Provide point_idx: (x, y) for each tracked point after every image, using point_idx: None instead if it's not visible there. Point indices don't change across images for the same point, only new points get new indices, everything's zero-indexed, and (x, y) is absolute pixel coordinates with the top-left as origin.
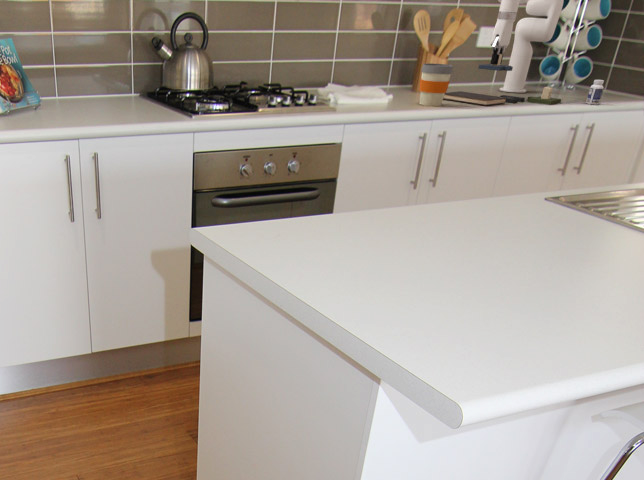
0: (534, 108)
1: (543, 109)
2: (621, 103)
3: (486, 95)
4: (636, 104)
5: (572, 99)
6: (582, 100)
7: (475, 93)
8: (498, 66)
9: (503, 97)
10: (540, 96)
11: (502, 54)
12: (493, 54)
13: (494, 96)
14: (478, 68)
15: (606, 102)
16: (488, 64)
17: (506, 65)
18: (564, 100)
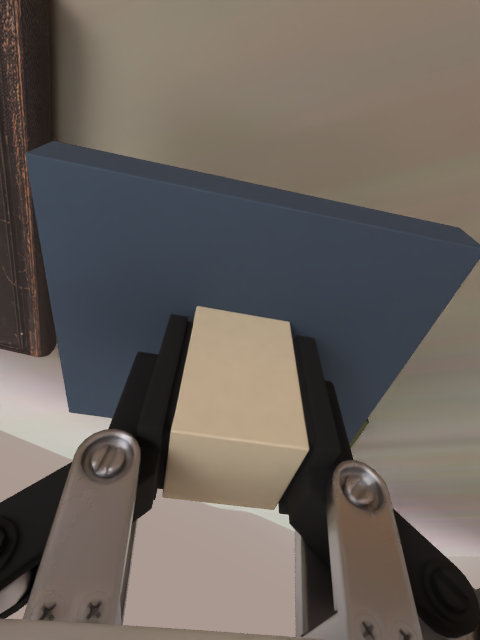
0: (60, 428)
1: (69, 447)
2: (446, 542)
3: (4, 260)
4: (445, 556)
5: (476, 474)
6: (462, 492)
7: (18, 166)
8: (115, 393)
9: (34, 346)
10: (365, 424)
11: (270, 508)
12: (104, 437)
13: (16, 306)
14: (52, 145)
15: (447, 525)
16: (296, 255)
17: (357, 418)
18: (420, 462)
